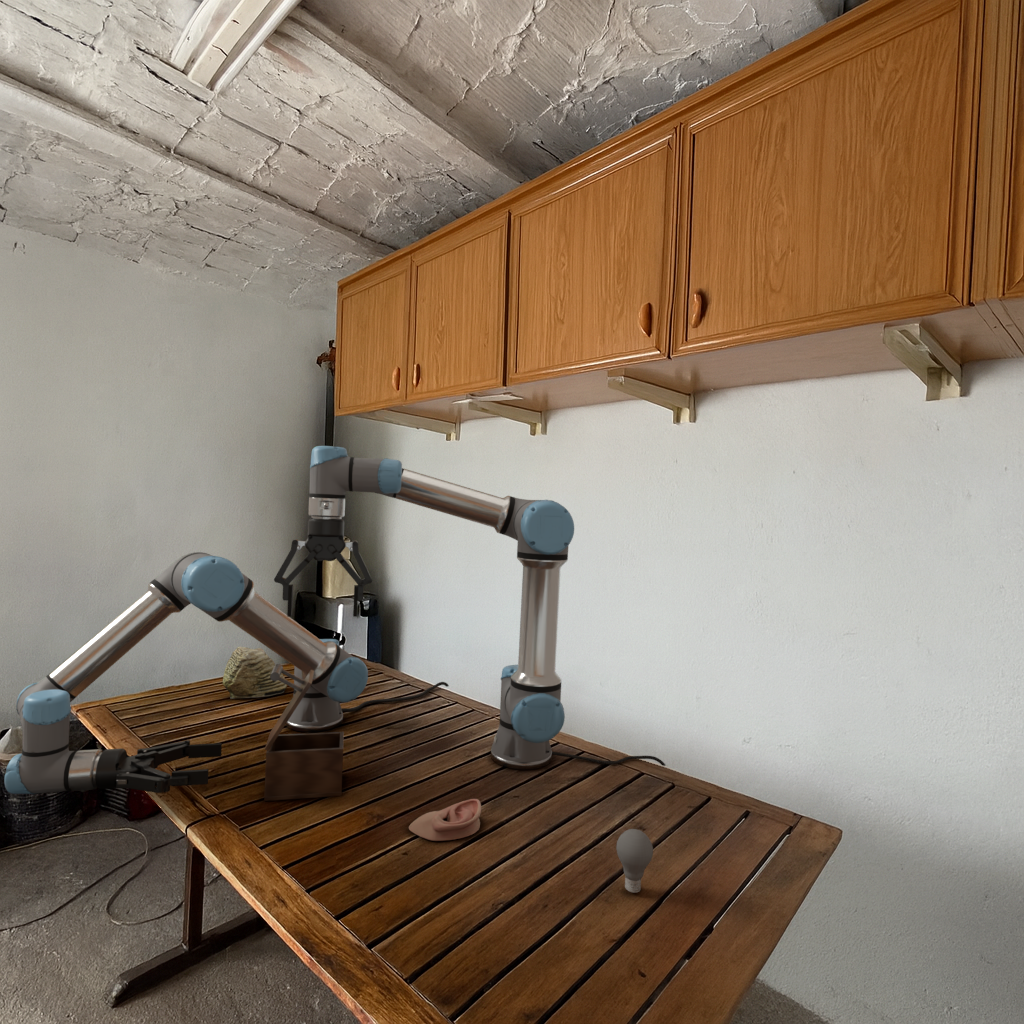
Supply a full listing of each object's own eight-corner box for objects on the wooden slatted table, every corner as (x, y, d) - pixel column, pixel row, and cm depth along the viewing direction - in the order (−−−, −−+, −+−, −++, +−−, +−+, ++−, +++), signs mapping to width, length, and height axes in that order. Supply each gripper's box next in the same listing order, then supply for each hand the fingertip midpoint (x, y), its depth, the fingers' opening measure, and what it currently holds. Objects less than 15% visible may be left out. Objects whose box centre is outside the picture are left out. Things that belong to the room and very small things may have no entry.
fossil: (218, 695, 195) (220, 647, 195) (278, 685, 208) (279, 640, 207) (228, 703, 189) (230, 653, 188) (289, 692, 201) (290, 645, 201)
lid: (314, 671, 142) (282, 653, 140) (311, 684, 132) (277, 665, 131) (273, 733, 140) (240, 716, 139) (268, 751, 131) (232, 733, 129)
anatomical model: (403, 815, 119) (423, 788, 130) (402, 836, 119) (423, 807, 131) (471, 825, 117) (486, 797, 128) (470, 847, 117) (485, 817, 128)
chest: (341, 775, 144) (343, 731, 144) (341, 795, 135) (343, 748, 134) (270, 780, 140) (271, 734, 140) (264, 801, 131) (266, 752, 131)
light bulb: (610, 879, 108) (613, 822, 108) (644, 879, 109) (647, 822, 109) (619, 902, 102) (622, 840, 102) (655, 901, 103) (658, 840, 103)
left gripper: (121, 762, 140) (225, 756, 145) (74, 818, 116) (200, 809, 121) (122, 728, 140) (226, 723, 145) (75, 777, 115) (202, 770, 121)
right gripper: (262, 516, 130) (259, 619, 131) (386, 520, 137) (382, 618, 137) (267, 515, 138) (263, 612, 138) (384, 519, 144) (380, 612, 144)
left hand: (215, 762), depth 133 cm, fingers open, 13 cm apart
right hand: (322, 615), depth 137 cm, fingers open, 13 cm apart
